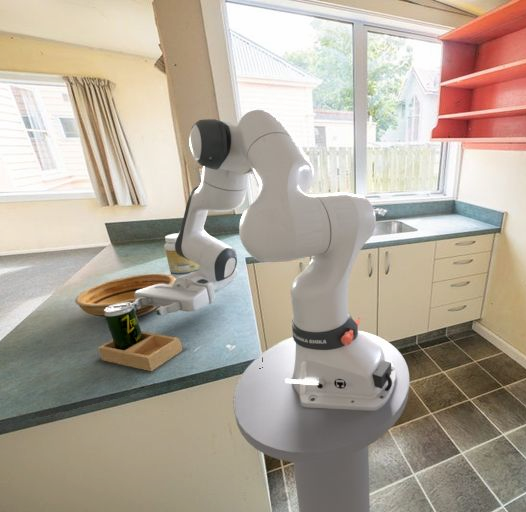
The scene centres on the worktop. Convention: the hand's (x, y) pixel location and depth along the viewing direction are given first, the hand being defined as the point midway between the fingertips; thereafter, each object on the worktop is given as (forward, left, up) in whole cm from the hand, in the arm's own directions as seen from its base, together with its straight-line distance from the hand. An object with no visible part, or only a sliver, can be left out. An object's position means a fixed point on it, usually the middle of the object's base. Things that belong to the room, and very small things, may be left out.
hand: (144, 310), depth 76 cm
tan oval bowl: (+22, -12, -9) cm, 26 cm away
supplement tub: (+33, -42, -9) cm, 54 cm away
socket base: (-4, +5, -9) cm, 11 cm away
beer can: (0, +5, -8) cm, 10 cm away
